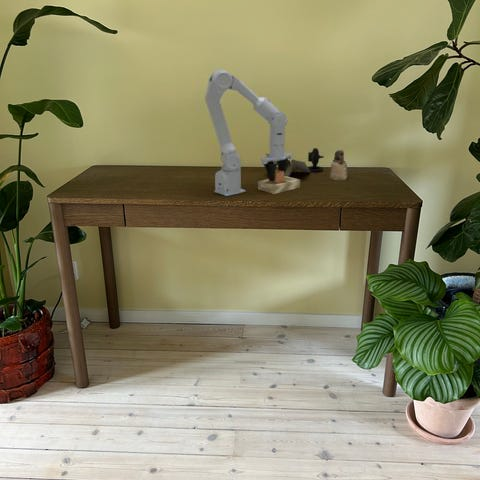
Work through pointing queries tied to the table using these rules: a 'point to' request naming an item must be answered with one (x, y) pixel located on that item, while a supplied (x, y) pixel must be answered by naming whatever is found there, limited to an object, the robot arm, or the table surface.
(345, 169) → the figurine
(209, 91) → the robot arm
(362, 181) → the table surface
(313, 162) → the webcam
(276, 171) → the block
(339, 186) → the table surface
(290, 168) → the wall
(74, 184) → the table surface
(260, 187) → the beige piece
